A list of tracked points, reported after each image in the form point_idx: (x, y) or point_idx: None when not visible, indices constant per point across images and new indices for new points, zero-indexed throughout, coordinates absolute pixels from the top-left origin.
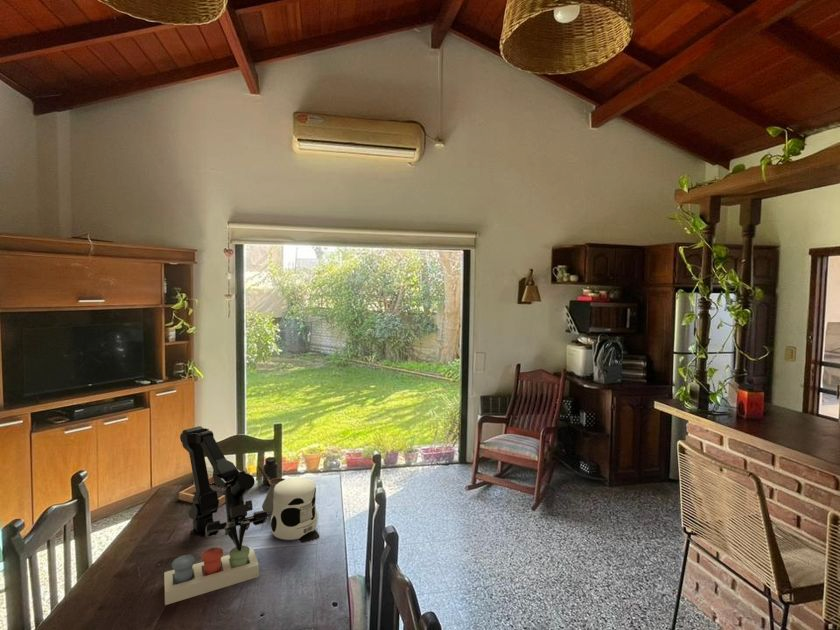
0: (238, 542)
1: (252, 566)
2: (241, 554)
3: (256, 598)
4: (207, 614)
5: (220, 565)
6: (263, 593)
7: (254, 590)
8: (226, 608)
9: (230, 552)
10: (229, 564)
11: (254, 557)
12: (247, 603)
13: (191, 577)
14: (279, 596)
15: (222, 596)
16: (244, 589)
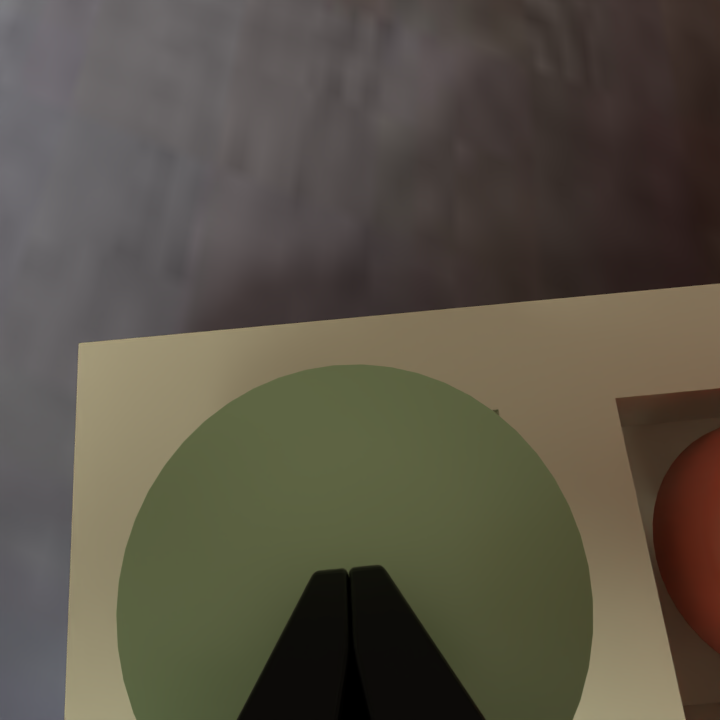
0: (381, 696)
1: (174, 339)
2: (321, 423)
3: (229, 74)
4: (671, 37)
5: (696, 497)
6: (152, 114)
7: (228, 186)
8: (506, 48)
9: (570, 624)
10: None
11: (94, 584)
12: (317, 43)
13: None
14: (25, 27)
15: (554, 217)
16: (326, 239)
